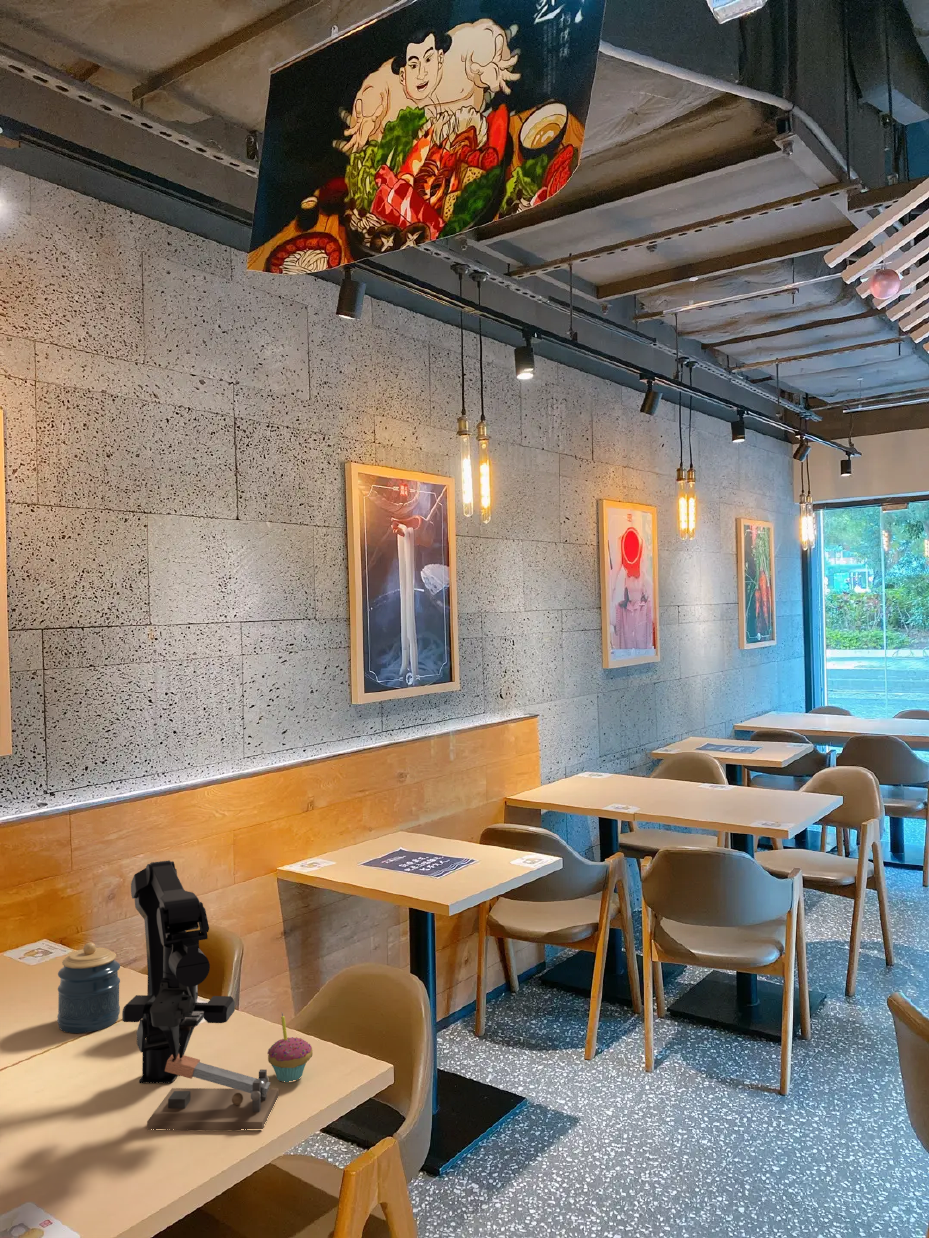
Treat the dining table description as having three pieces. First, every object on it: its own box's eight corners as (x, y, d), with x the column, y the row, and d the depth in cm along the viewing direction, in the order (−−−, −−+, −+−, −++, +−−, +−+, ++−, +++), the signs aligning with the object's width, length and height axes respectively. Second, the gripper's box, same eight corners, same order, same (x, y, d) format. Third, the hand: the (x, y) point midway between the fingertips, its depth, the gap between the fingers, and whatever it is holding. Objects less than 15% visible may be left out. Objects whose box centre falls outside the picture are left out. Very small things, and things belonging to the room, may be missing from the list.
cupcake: (258, 1081, 173) (258, 1017, 173) (286, 1063, 180) (286, 1002, 181) (293, 1091, 169) (293, 1025, 169) (321, 1072, 176) (321, 1010, 177)
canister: (132, 1018, 204) (132, 939, 205) (81, 1039, 193) (81, 955, 194) (96, 1007, 211) (96, 930, 211) (44, 1026, 200) (45, 945, 201)
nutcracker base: (147, 1129, 155) (147, 1091, 155) (171, 1096, 167) (172, 1060, 167) (262, 1130, 154) (262, 1092, 155) (278, 1096, 166) (278, 1061, 167)
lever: (164, 1072, 160) (167, 1058, 160) (170, 1064, 163) (174, 1051, 163) (263, 1100, 159) (267, 1087, 159) (268, 1091, 162) (271, 1078, 162)
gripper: (109, 984, 154) (108, 1077, 154) (217, 985, 154) (216, 1078, 153) (135, 962, 165) (134, 1049, 165) (235, 963, 165) (235, 1050, 164)
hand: (178, 1057), depth 161 cm, fingers closed
